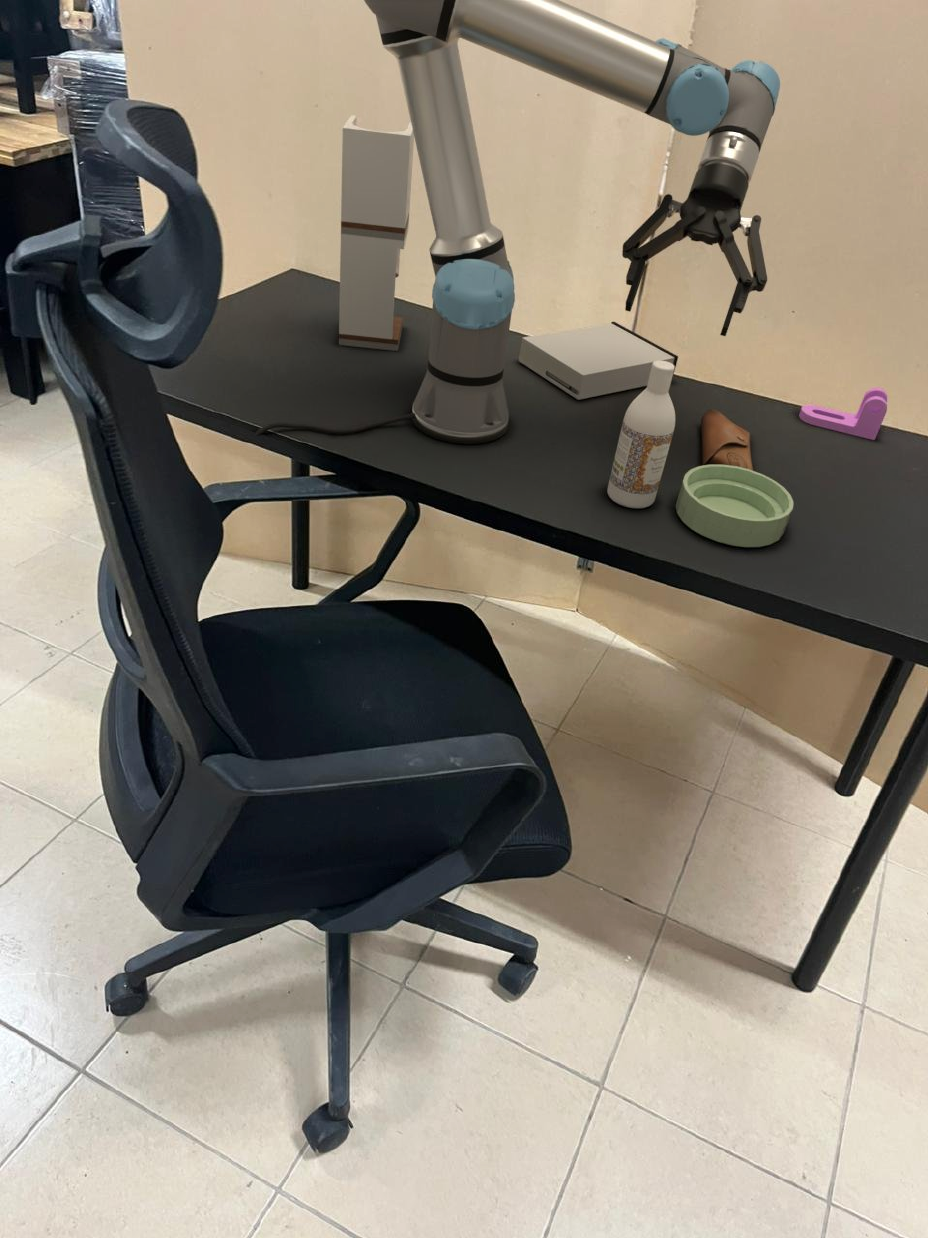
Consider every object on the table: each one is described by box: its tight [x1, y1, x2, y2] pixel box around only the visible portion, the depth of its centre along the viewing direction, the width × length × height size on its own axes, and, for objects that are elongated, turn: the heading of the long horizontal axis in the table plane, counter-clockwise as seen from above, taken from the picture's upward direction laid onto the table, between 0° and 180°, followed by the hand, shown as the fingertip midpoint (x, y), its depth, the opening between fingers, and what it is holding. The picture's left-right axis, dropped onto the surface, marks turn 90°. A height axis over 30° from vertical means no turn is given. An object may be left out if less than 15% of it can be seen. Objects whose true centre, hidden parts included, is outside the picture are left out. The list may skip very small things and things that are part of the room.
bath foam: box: [606, 361, 676, 509], centre depth 123 cm, size 7×7×20 cm
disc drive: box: [518, 321, 679, 401], centre depth 163 cm, size 18×22×5 cm
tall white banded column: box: [338, 114, 415, 352], centre depth 156 cm, size 11×11×35 cm
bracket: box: [798, 387, 888, 441], centre depth 155 cm, size 13×6×7 cm, turn 69°
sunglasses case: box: [700, 408, 754, 471], centre depth 142 cm, size 18×7×7 cm, turn 170°
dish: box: [675, 465, 795, 548], centre depth 126 cm, size 15×15×4 cm
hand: (675, 319), depth 124 cm, fingers open, 13 cm apart
